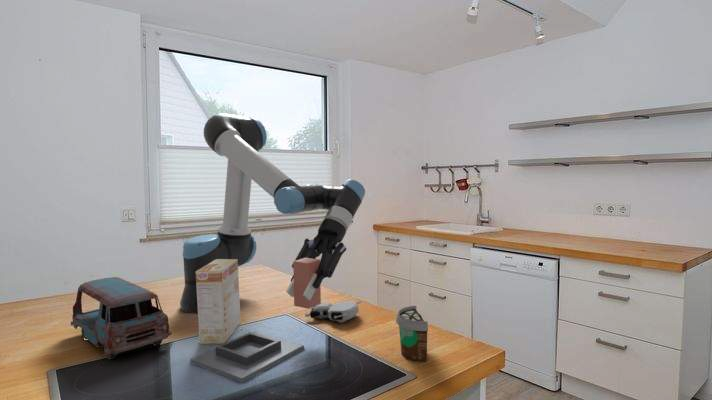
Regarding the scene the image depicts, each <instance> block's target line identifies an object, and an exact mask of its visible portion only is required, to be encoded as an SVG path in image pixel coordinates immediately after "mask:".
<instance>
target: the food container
mask: <svg viewBox="0 0 712 400" xmlns="http://www.w3.org/2000/svg"><path fill="white" fill-rule="evenodd" d="M395 322H396V324H397V325H398V327H399V328H398V329H399V340H400V350H401V355H402V357H403V358H404V359H406V360H408V361H412V362H416V363H417V362H418V363H427V362H428V360H427V359H428V355H427V354H428V332H429V325H428V321H426V320H425V321H424V318H423V317H422V314H420V313H419V311H418V310H417V305H410V306H404V307H403V308H401V309H399V310H398V312H397V314H396V319H395Z"/></svg>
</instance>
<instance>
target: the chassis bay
mask: <svg viewBox="0 0 712 400" xmlns="http://www.w3.org/2000/svg"><path fill="white" fill-rule="evenodd" d="M304 349H305V345H304V344H302V343H299V342H294V341H291V340H287V339H284V338H281V337H276V336H273V335H270V334H266V333H262V332H259V331H255V330H254V331H249V332H247V333H244V334H242V335H239V336H238V337H235V338H233V339H230V340H228V341H226V342H225V343H223V344H218V345H216V346H214V348H212V349H210V350H207V351H205V352H202V353H200V354H198V355H196V356H194V357H191V358H190V360H189V362H190V364H193V365H195V366H197V367H201V368H202V369H205V370H208V371H211V372H213V373H216V374H217V375H220V376H224V377H227V378H229V379H232V380H233V381H236V382H239V383H242V384H243V383H244V382H246V381H248V380H249V379H252V378H253V377H256V376H257V375H259V374H261V373H263V372H265V371H266V370H268V369H270V368H272V367H273V366H275V365H277V364H279V363H281V362H283V361H285V360H287V359H288V358H290V357H292V356H293V355H296V354H297V353H299V352H301V351H303V350H304Z"/></svg>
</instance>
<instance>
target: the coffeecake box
mask: <svg viewBox="0 0 712 400" xmlns="http://www.w3.org/2000/svg"><path fill="white" fill-rule="evenodd" d="M195 273H196V288H197V306H198V313H197V322H198V323H197V324H198V339H199V341H198V344H200V345H208V344H209V345H210V344H213V345H215V344H216V345H217V344H218V345H221V344H223V343H226V342H227V340H228V339H229V338H230V337H231V336H232V335H233V333H234V332H235V331H236V330H237V328H239V326H240V325H241V323H242V321H241V304H240V303H241V301H240V300H241V299H240V282H239V266H238V259H216V260H214V261H212V262H211V263H209V264H208V265H206V266H204V267H203V268H201V269H199V270H198V271H196V272H195Z"/></svg>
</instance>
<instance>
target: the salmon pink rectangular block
mask: <svg viewBox="0 0 712 400" xmlns="http://www.w3.org/2000/svg"><path fill="white" fill-rule="evenodd" d="M320 260H321V259H318V258H316V259H312V258H302V259H299V260H295V259H294V260H293V261H292V262H293V263H292V264H293V268H292V270H293V275H294V297H293V304H294V305H293V306H295V307H299V308H303V309H308V310H311V309H312V307H314V306H317V305H319V304H321V303H322V301H321V299H322V298H321V296H322V295H321V294H322V293H321V285H322V284H320V286H319V288H318V289H316V290H315V292H314V294H313V296H312V298H311V300H310V301H308V300H307V299H306V298H305V297H304V296H303V293H304V292H305V290H306V288H307V286H308V284H309V282H310V280H311V278H312V276H313V274H314V273H315V274H317V272H316V271H318V268H319V264H320ZM317 275H318V274H317Z"/></svg>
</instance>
